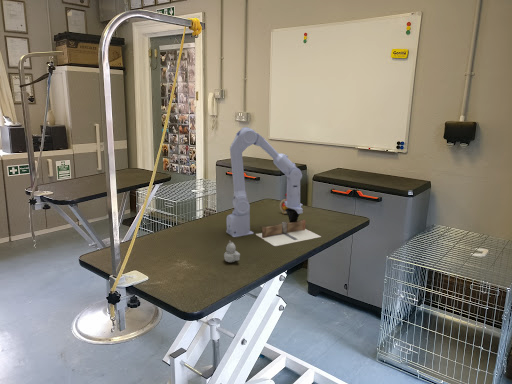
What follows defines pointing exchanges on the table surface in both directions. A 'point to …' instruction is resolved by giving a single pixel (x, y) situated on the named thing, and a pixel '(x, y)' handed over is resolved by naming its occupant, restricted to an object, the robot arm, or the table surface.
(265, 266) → the table surface
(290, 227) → the brown wooden bar
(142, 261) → the table surface
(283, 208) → the bird rattle
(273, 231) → the fixed fence section
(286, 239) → the card
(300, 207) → the robot arm
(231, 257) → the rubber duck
